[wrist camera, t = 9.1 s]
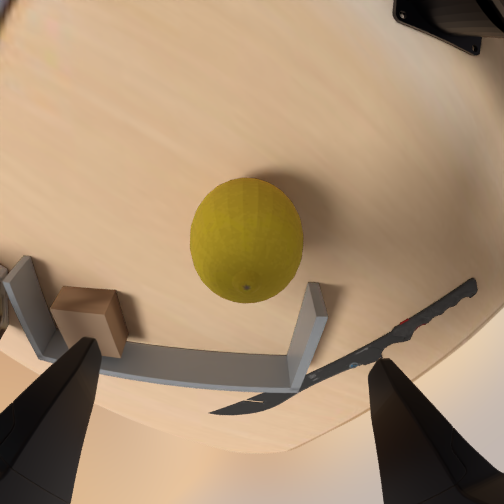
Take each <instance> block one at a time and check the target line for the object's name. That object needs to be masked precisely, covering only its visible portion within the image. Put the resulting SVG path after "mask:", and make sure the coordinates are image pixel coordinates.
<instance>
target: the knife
mask: <svg viewBox="0 0 504 504" xmlns="http://www.w3.org/2000/svg"><path fill="white" fill-rule="evenodd" d="M477 290H478V289H477V284H476V280H475V279H474V278H471V279H469V280H467V281H466V282H465V283H463V284H462V285H460V286H459V287H457V288H456V289H454V290H453V291H451V292H450V293H449V294H447V295H446V296H444V297H442V298H441V299H439V300H438V301H436V302H435V303H433V304H432V305H430V306H429V307H427V308H425V309H424V310H422V311H421V312H419V313H417V314H416V315H414V316H412V317H411V318H409V319H406V320H404V321H403V322H401V323H400V324H399V325H397V326H396V327H394V328H393V330H392V331H391V332H389V333H387V334H386V335H384V336H382V337H380V338H378V339H377V340H375V341H373V342H371V343H369V344H367V345H365V346H364V347H362V348H360V349H358V350H356V351H354V352H352V353H350V354H348V355H346V356H344V357H342V358H340V359H338V360H336V361H334V362H332V363H330V364H328V365H326V366H324V367H322V368H320V369H317V370H315V371H313V372H311V373H309V374H307V375H305V377H304V380H303V382H302V384H301V387H300V389H299V391H298V393H299V392H301V391H303V390H305V389H307V388H308V387H310V386H312V385H314V384H316V383H319V382H321V381H323V380H325V379H327V378H330V377H332V376H334V375H336V374H339V373H341V372H343V371H346V370H349V369H351V368H355V367H357V366H360V365H362V364H363V365H367V364H370V363H373V362H375V361H377V360H378V359H379V358H380V357H381V358H380V359H382V358H383V357H382V355H381V353H382V351H383V350H384V349H385V348H386V347H387V346H389V345H391V344H393V343H399V342H404V341H408V340H410V339H411V337H412V335H413V332H414V331H415V330H416V329H417V328H418V327H420V326H422V325H425V324H427V323H429V322H430V321H431V319H432V318H434V317H435V316H438V315H441V314H443V313H444V312H445V310H446V309H448V308H449V307H453V306H455V305H457V303H458V302H459V301H460V300H461V299H463V298H465V297H469V298H471V297H473V296H474V295H475V294H476V293H477ZM473 293H474V294H473ZM472 294H473V295H472ZM295 394H297V393H268V392H264V393H262V394H259V395H257V396H254V397H252V398H249V399H247V400H253V401H263V403H261V402H251V401H241V402H238V403H236V404H233V405H230V406H227V407H225V408H222V409H219V410H216V411H213V412H210V414H216V415H242V414H250V413H256V412H260V411H264V410H267V409H270V408H273V407H275V406H277V405H279V404H281V403H283V402H284V401H286V400H288V399H289V398H291V397H292V396H294V395H295Z"/></svg>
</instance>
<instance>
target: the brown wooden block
mask: <svg viewBox="0 0 504 504" xmlns="http://www.w3.org/2000/svg"><path fill="white" fill-rule="evenodd" d="M50 311H51V313H52V315H53V317H54V320H55V322H56V324H57V326H58V328H59V330H60V332H61V334H62V336H63V338H64V340H65V342H66V344H67V346H68V348H69V349H70V348H71V347H72V346H73V345H74V344H75V343H76V342H77V341H79V340H80V339H81V338H82V337H84V336H88V337H93V338H95V339H96V340H97V342H98V345H99V348H100V351H101V354H102V356H107V357H115V358H121V356H122V353H123V350H124V347H125V344H126V340H127V337H128V334H129V333H128V330H127V327H126V324H125V321H124V318H123V314H122V311H121V308H120V304H119V301H118V297H117V294H116V290H108V289H94V288H81V287H68V286H63V287H62V289H61V291H60V292H59V294H58V295H57V297H56V299H55V300H54V302H53V304H52V305H51V307H50Z"/></svg>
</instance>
